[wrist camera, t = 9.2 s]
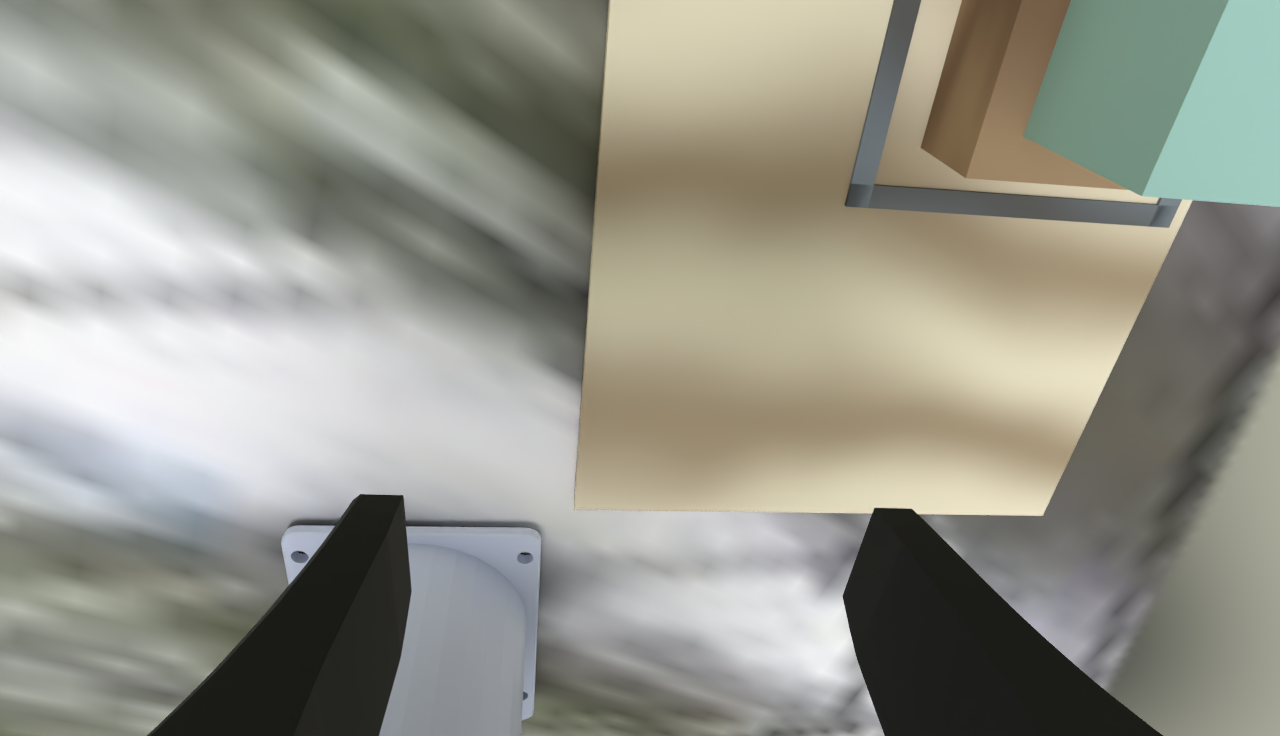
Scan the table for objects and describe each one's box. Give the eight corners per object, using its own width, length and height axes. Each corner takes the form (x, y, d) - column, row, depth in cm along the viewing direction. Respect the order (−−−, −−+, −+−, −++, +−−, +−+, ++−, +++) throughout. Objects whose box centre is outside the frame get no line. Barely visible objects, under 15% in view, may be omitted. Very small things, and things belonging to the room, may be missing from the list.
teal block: (1188, 150, 17) (1342, 211, 14) (1022, 136, 17) (1141, 196, 13) (1281, -51, 15) (1488, -38, 12) (1096, -74, 15) (1258, -67, 11)
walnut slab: (1138, 164, 20) (1207, 195, 18) (920, 147, 19) (965, 178, 17) (1253, -105, 17) (1352, -105, 15) (1000, -137, 16) (1067, -143, 14)
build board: (1034, 505, 27) (1044, 517, 26) (574, 499, 25) (574, 511, 24) (1363, -202, 17) (1389, -205, 16) (630, -312, 15) (633, -319, 14)
